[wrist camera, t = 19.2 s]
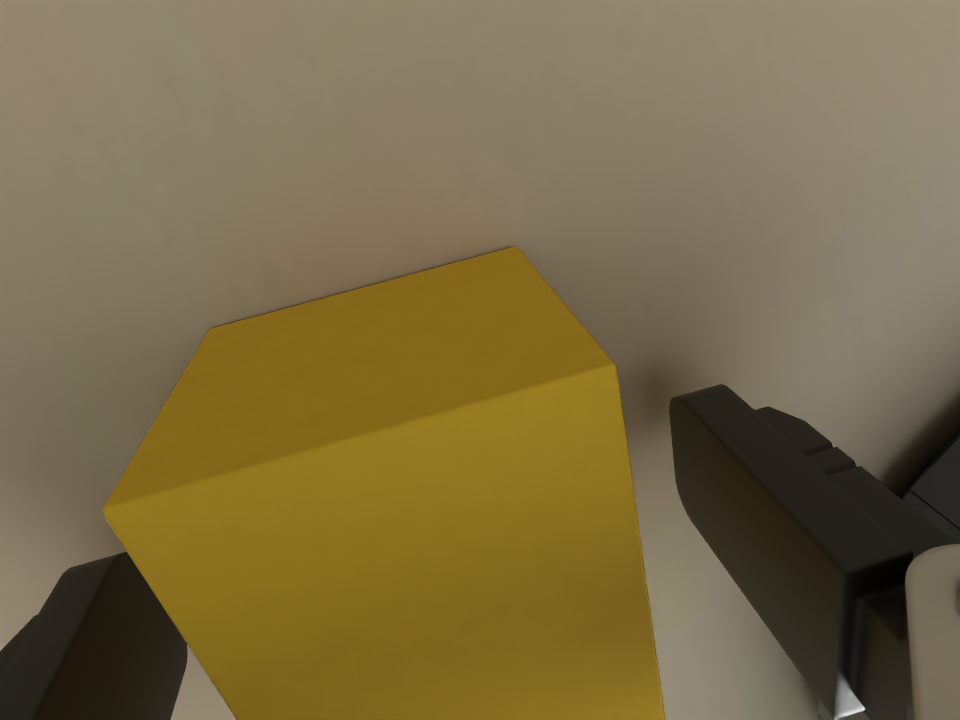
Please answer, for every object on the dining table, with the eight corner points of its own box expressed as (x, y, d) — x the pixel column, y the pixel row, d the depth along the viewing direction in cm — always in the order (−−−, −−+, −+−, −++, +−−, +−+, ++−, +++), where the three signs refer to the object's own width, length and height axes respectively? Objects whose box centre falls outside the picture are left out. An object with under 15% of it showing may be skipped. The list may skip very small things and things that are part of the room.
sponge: (344, 619, 11) (333, 872, 8) (208, 328, 9) (98, 510, 5) (578, 549, 12) (672, 764, 8) (516, 244, 9) (617, 364, 5)
